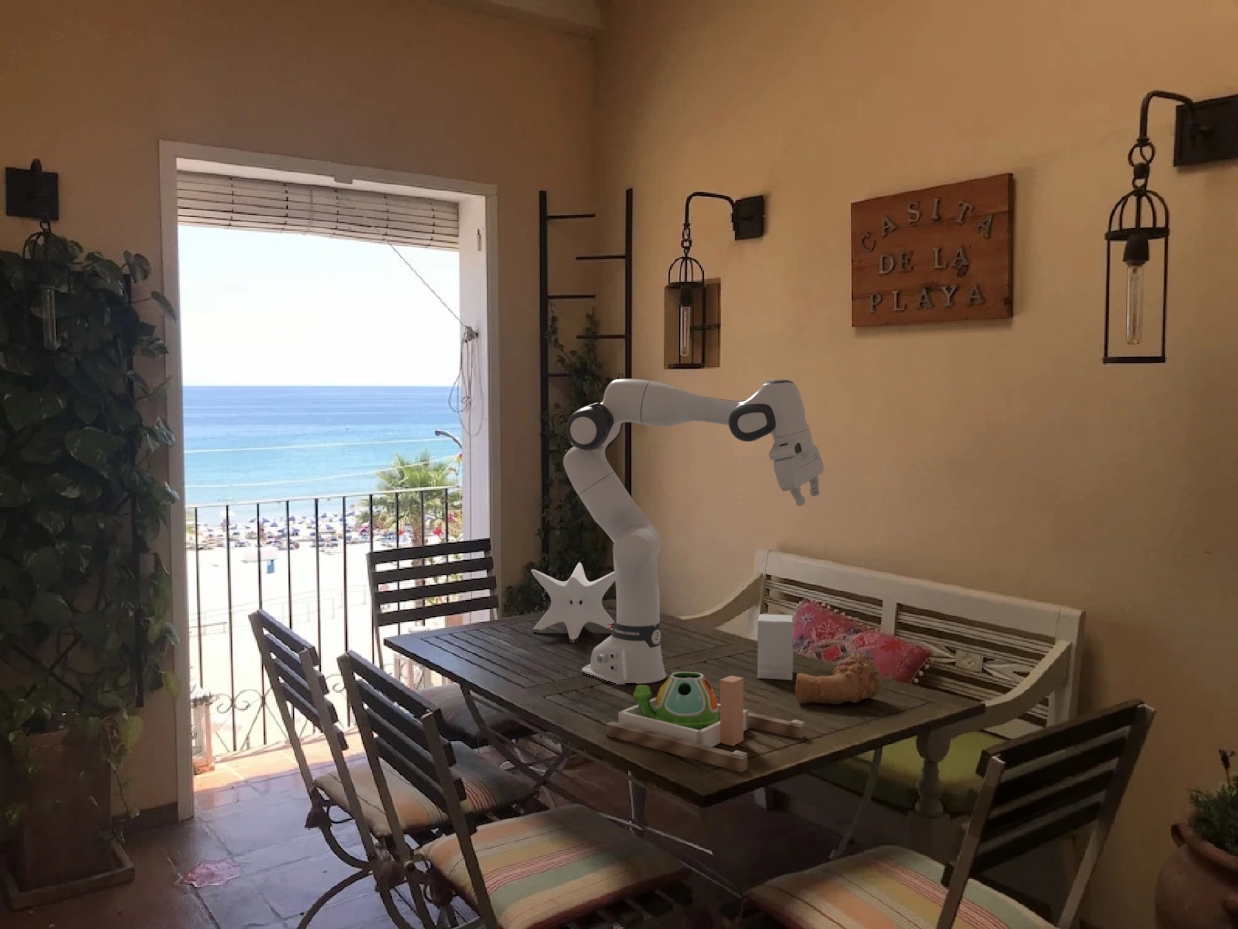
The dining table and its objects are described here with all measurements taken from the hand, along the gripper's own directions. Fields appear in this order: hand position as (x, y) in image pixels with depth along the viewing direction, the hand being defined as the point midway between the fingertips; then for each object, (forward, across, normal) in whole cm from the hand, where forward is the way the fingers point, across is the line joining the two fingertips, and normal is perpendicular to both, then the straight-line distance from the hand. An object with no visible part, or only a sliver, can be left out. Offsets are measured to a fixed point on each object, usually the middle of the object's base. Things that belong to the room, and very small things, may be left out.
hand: (808, 500), depth 224 cm
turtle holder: (+36, +48, -21) cm, 64 cm away
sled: (+36, +49, -18) cm, 63 cm away
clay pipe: (+46, +11, 0) cm, 48 cm away
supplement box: (+44, -1, -22) cm, 49 cm away
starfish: (+31, -13, -92) cm, 98 cm away
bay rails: (+37, +49, -14) cm, 63 cm away
